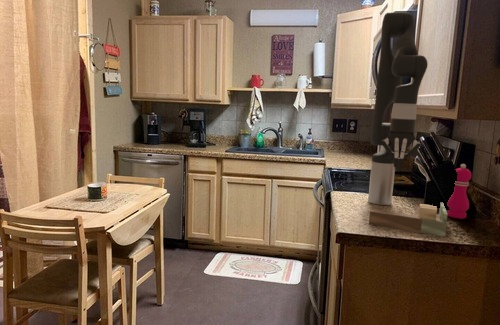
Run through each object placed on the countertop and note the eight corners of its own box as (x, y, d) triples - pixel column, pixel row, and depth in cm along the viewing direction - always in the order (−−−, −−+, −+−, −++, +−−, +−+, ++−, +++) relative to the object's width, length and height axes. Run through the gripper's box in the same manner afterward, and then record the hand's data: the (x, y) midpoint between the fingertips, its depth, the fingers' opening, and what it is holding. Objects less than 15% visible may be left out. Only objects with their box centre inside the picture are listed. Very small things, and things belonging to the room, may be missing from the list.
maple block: (418, 217, 125) (419, 203, 124) (434, 220, 123) (436, 206, 122) (418, 222, 120) (420, 207, 120) (435, 224, 118) (437, 209, 118)
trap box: (373, 211, 139) (375, 193, 138) (441, 221, 130) (443, 202, 129) (368, 224, 124) (370, 204, 123) (445, 236, 115) (447, 215, 114)
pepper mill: (443, 215, 138) (449, 163, 135) (449, 212, 143) (455, 161, 140) (464, 220, 133) (471, 166, 130) (470, 216, 138) (477, 164, 135)
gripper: (425, 118, 122) (419, 169, 124) (383, 116, 127) (378, 165, 130) (425, 119, 115) (419, 173, 118) (381, 116, 120) (376, 168, 123)
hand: (397, 169), depth 124 cm, fingers closed
